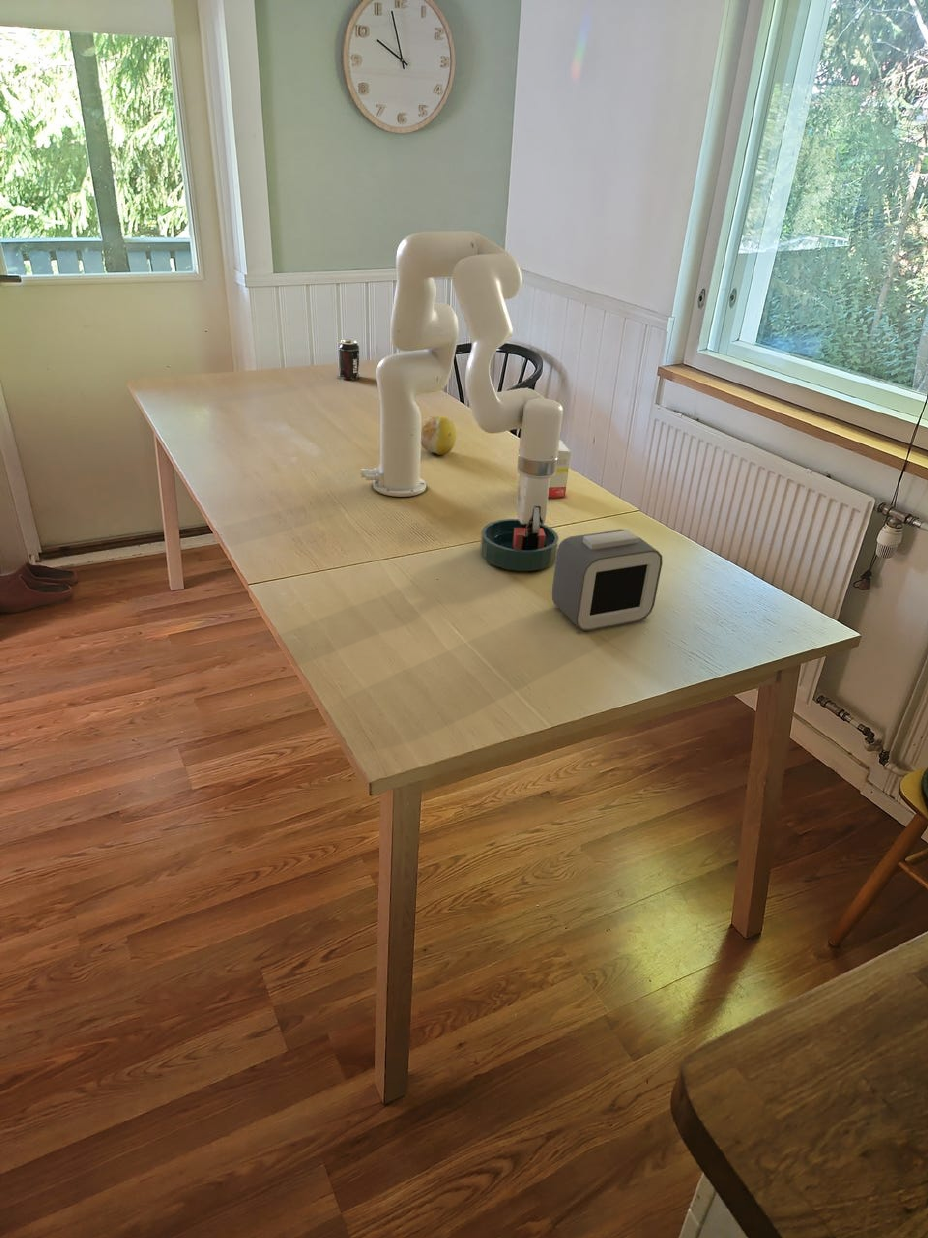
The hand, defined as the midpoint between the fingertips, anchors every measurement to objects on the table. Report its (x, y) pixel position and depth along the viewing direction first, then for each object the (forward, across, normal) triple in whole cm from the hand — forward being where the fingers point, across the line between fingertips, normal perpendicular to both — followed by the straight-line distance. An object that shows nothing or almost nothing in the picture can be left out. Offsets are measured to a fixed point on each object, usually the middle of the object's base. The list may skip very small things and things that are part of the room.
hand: (527, 548), depth 173 cm
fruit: (+3, -61, -16) cm, 63 cm away
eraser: (0, 0, 0) cm, 0 cm away
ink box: (+2, -36, +11) cm, 38 cm away
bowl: (+2, 0, -2) cm, 3 cm away
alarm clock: (+2, +22, +10) cm, 24 cm away
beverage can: (+3, -132, -42) cm, 138 cm away
